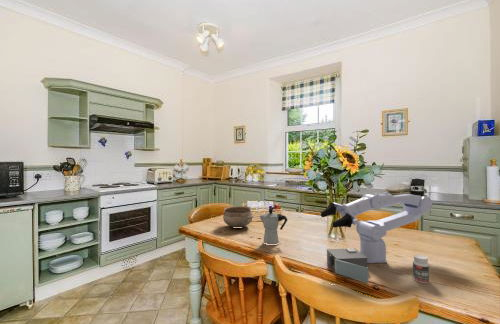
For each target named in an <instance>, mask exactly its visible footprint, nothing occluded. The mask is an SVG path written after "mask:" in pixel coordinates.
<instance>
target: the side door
mask: <svg viewBox="0 0 500 324" xmlns="http://www.w3.org/2000/svg"><path fill="white" fill-rule="evenodd" d="M334 274H337V275H340V276H343V277H347V278H350V279H353V280H357V281H360V282H364V283H369V267H368V266H367V267H364V266H360V265H356V264H352V263H348V262H345V261H341V260H337V259H335V270H334Z"/></svg>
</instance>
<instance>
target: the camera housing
mask: <svg viewBox="0 0 500 324" xmlns="http://www.w3.org/2000/svg"><path fill="white" fill-rule="evenodd" d="M335 259H337V260H341V261H345V262H348V263H352V264H356V265H360V266H364V267H367V268H368V263H367V257H366V256H364V255H363V254H362V253H360V251H359V250H358V249H356V248H353V247H352V248H349V247H348V248H329V249H328V248H327V249H326V262H327V264H328V265H329V267H331V266H332V267H331V268H332V270H334V271H335Z"/></svg>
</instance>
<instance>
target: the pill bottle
mask: <svg viewBox="0 0 500 324" xmlns="http://www.w3.org/2000/svg"><path fill="white" fill-rule="evenodd" d="M428 262H429V257H427V256H426V255H423V254H414V255H413V260H412V279H413V280H414V281H415V282H417V283H420V284H428V283H430V265H429V263H428Z"/></svg>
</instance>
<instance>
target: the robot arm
mask: <svg viewBox="0 0 500 324" xmlns="http://www.w3.org/2000/svg"><path fill="white" fill-rule="evenodd" d="M395 204H402V212H398V213H395V214H393V215H392V214H391V215H390V216H387V217H384V218H381V219H377V220H366V221H365V220H360V221H359V219H358V218H357V216H359V215H361V214H363V213H366V212H367V211H368V212H369V211H370V210H379V209H381V208H389V207H392V206H394V205H395ZM432 206H433V200H432V199H431V197H429V196H426V195H425V196H423V195H422V196H421V195H415V194H411V193H401V194H397V195H396V194H395V195H392V194H391V193H389V192H386V191H384V192H383V193H377V192H375V193H374V194H370V193H367V194H363V195H362V196H361V198H358V199H354V201H351V202H349V203H348V202H347V203H342V204H340V203H336V202H334V201H332V202H330V203H329V205H328V206H327V207H326V208H325V209H323V210H322V211H321V212H320V217H321V218H325V217H329V216H337V212H338V213H339V214H340V216H341V217H339V218H338V219H336V220H334V221H332V228H343V227H344V228H352V225H354V226H355V229H356V233H357V234H358V237H359V250H360V251H359V252H360V253H362V254H363V255H364V256H366V257H367V264H375V263H381V264H382V263H388V261H387V245H386V242H385V240H384V239H383V237H385V236H387V232H388V231H391V230H394V229H398V228H400V227H402V226H406V225H408V224H412V223H415V222H416V221H418V220H419V219H420V218H421V217H422V216H423V215H424V214H426V213H430V212H431V209H432Z"/></svg>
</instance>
